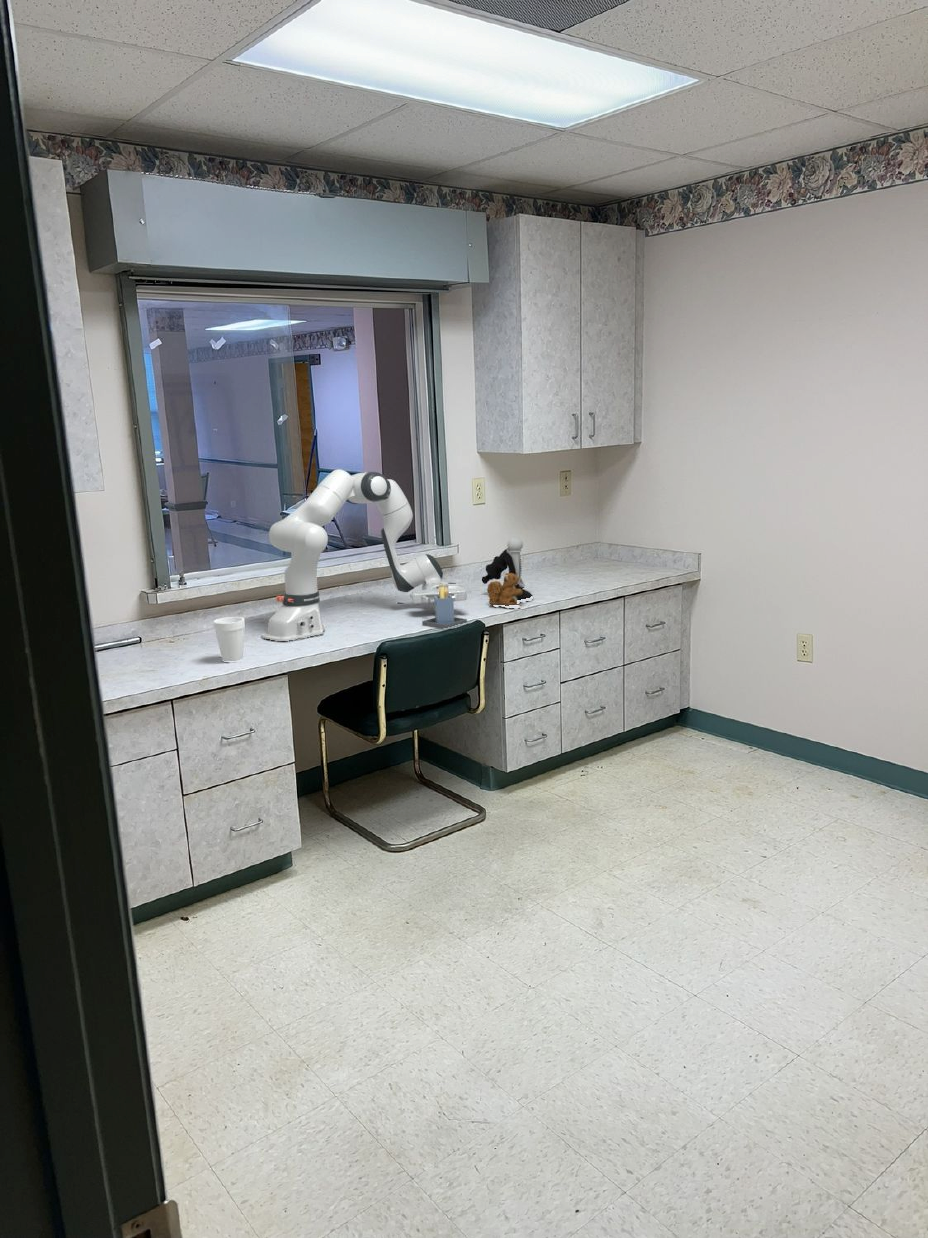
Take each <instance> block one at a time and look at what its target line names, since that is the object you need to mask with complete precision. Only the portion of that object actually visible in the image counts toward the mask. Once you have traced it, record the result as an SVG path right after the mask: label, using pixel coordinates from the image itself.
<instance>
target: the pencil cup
mask: <svg viewBox="0 0 928 1238" xmlns="http://www.w3.org/2000/svg"><path fill="white" fill-rule="evenodd" d="M454 604H455V603H454V601H453V597H452V596H451V595H449V598H445V597H444V598H439V596H434V604H433V605H434V618H435V623H439V624H444V625H446V624H450V623H453V622H454V617H455V609H454Z"/></svg>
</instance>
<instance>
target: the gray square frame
mask: <svg viewBox="0 0 928 1238" xmlns="http://www.w3.org/2000/svg"><path fill="white" fill-rule="evenodd" d="M466 622H467V623H468V619H466V618H462V617H456V616H454V622H453V623H450V624H446V625H444V624H439V623H435V617H433V618H429V619H425V620H422V624H421V625H422V626H423V627H428V628H433V629H434V628H435V629H441V630H444V629H443V628H448V627H452V626H455V625H458V624H463V623H466Z"/></svg>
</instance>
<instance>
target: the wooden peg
mask: <svg viewBox="0 0 928 1238" xmlns="http://www.w3.org/2000/svg"><path fill="white" fill-rule="evenodd" d="M444 597H445V598H449V591H448V586H444Z"/></svg>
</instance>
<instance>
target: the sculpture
mask: <svg viewBox="0 0 928 1238" xmlns="http://www.w3.org/2000/svg"><path fill="white" fill-rule="evenodd" d="M506 545H507V546H506V548H505V549H504V550H503V551H502V552H501V553H500V554H499V555H497V556H496V555H495V557H494V558H493V560H492V562H491V563H490V564H486V565H485V571H486V573H487V574H486V575H485V576H484V575H483V576H481V577H482V578H481V582H482V583H483V584H484V585H487V584H488V583H489V582H490V581H492V580H500V579H501V578H502V573H503V572H504V571H505V570H507V569H508V573H513V574H515V575H517V576H518V577H519V584H517V585H515V588H517V589H521V590H522V591H523V593H522V594H521V595H516V597H517V600H521V599H526V598H530V597H531V596H534V595H533V594H532V593H531V592H530V591H528V590H527V589H524V588H525V586H526V584H525V582H524V581H523V578H522V569H523V568H522V567H523V565H522V564H523V563H522V557H521V552H522V549H523V546H524V543H523V540H522V539H520V538H519V537H511V538H510V539H508V541H507V543H506Z"/></svg>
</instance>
